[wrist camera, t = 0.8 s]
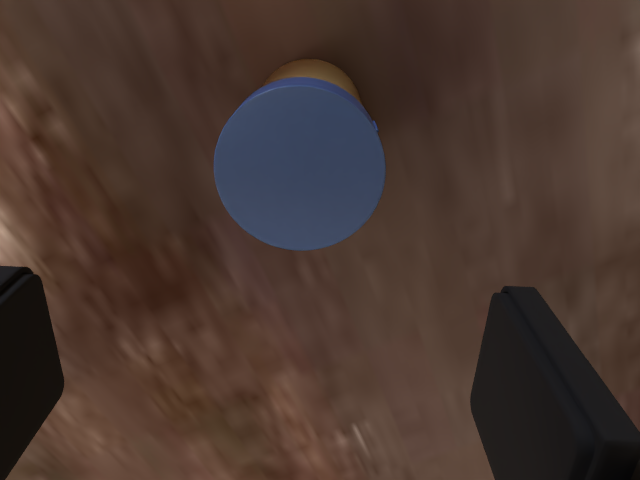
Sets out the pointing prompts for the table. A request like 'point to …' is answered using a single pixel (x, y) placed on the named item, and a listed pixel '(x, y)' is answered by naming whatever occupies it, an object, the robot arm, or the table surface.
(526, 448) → the robot arm
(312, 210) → the lid
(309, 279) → the table surface
